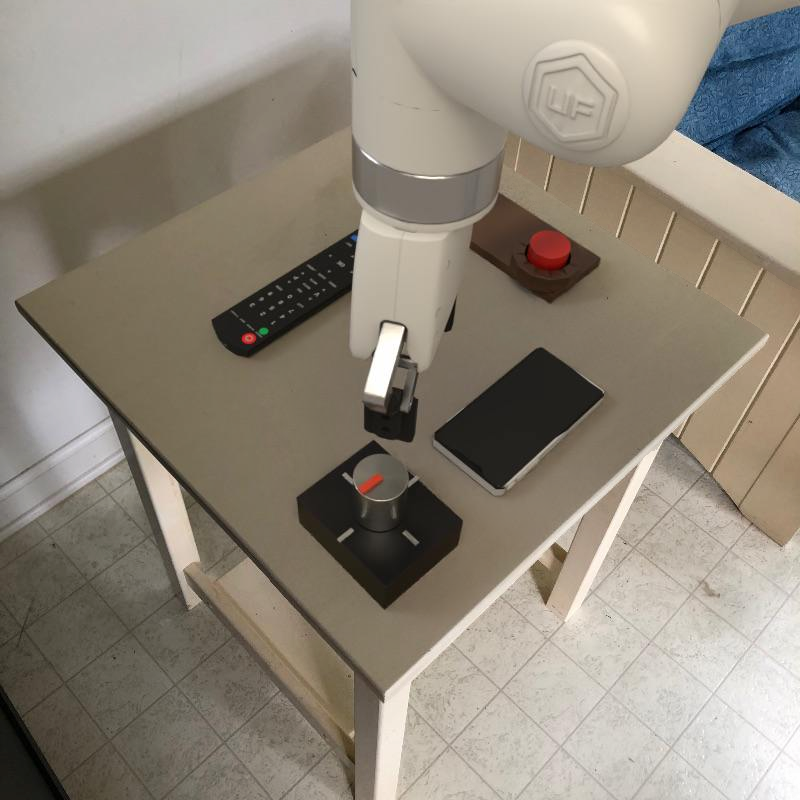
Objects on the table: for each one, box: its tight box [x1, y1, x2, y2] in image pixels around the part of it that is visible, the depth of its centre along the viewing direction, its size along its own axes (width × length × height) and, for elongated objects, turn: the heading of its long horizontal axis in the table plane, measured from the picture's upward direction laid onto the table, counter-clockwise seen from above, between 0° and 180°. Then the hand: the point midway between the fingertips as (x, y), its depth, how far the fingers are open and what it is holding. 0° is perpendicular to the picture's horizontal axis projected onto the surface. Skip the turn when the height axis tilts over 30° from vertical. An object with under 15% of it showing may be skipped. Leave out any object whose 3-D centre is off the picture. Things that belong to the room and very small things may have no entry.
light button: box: [527, 231, 571, 271], centre depth 81 cm, size 4×4×2 cm
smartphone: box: [432, 346, 606, 497], centre depth 72 cm, size 8×1×15 cm
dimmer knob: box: [353, 454, 409, 532], centre depth 60 cm, size 4×4×5 cm
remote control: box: [210, 228, 359, 357], centre depth 81 cm, size 5×24×1 cm, turn 135°
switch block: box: [469, 191, 602, 305], centre depth 85 cm, size 14×9×3 cm, turn 45°
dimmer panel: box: [296, 439, 464, 610], centre depth 64 cm, size 10×8×4 cm
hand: (410, 376), depth 55 cm, fingers open, 9 cm apart
